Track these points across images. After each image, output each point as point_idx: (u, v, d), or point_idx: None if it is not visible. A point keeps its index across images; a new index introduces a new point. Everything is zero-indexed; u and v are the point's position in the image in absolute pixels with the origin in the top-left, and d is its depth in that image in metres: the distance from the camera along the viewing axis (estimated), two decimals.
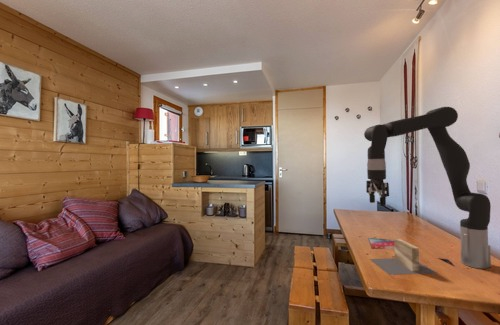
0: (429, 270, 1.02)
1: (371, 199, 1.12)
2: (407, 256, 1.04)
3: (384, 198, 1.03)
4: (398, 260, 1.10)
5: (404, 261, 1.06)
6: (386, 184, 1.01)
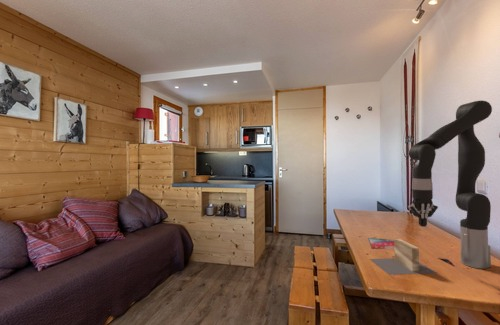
0: (429, 270, 1.02)
1: None
2: (407, 256, 1.04)
3: None
4: (398, 260, 1.10)
5: (404, 261, 1.06)
6: None
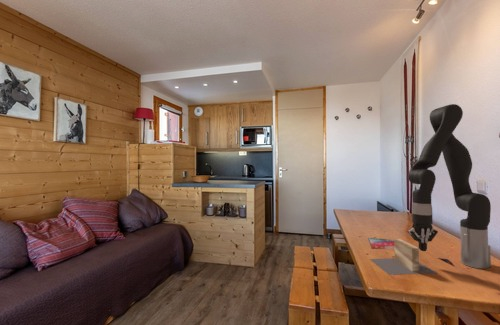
0: (429, 270, 1.02)
1: None
2: (407, 256, 1.04)
3: None
4: (398, 260, 1.10)
5: (404, 261, 1.06)
6: None
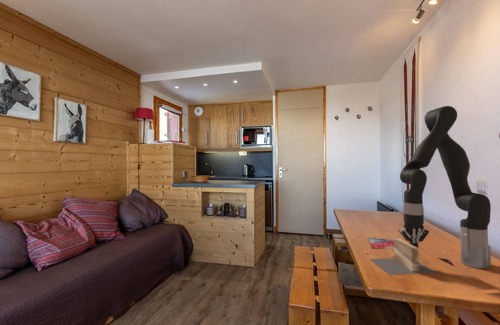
0: (429, 270, 1.02)
1: None
2: (407, 256, 1.04)
3: None
4: (398, 260, 1.10)
5: (404, 261, 1.06)
6: None
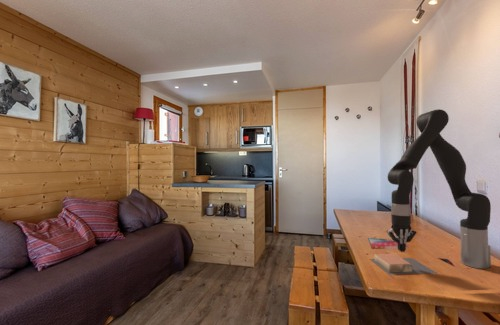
0: (429, 270, 1.02)
1: None
2: None
3: None
4: None
5: None
6: None
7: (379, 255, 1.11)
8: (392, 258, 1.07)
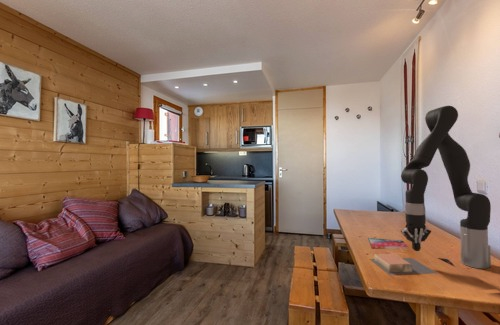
0: (429, 270, 1.02)
1: None
2: None
3: None
4: None
5: None
6: None
7: (379, 255, 1.11)
8: (392, 258, 1.07)
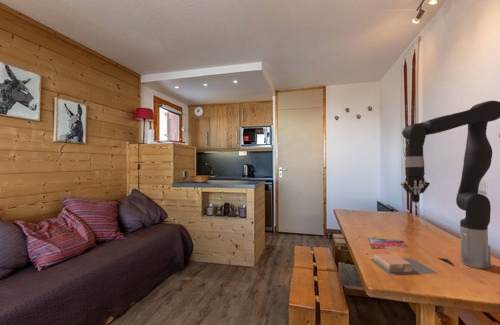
0: (429, 270, 1.02)
1: None
2: None
3: None
4: None
5: None
6: None
7: (379, 255, 1.11)
8: (392, 258, 1.07)
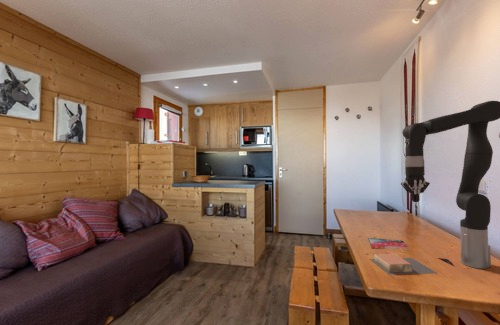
0: (429, 270, 1.02)
1: None
2: None
3: None
4: None
5: None
6: None
7: (379, 255, 1.11)
8: (392, 258, 1.07)
